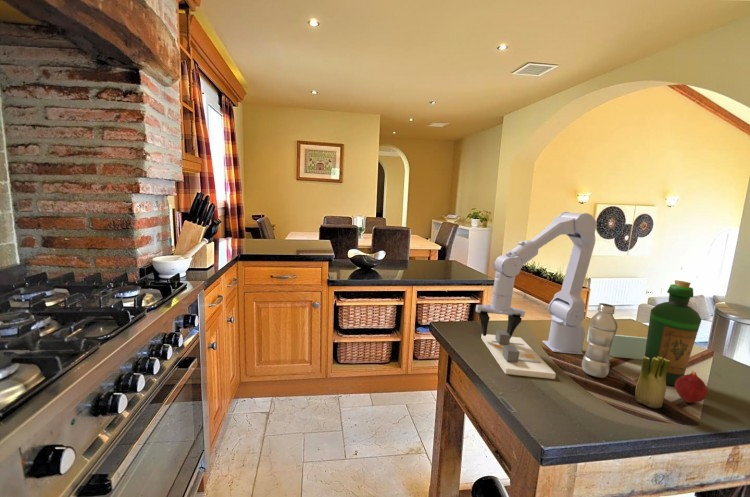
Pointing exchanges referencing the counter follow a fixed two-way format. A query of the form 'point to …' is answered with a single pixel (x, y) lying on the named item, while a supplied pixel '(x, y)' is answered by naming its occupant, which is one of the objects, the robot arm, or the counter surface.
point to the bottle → (673, 330)
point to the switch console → (527, 359)
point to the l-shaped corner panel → (627, 346)
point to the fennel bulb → (652, 382)
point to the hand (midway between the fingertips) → (496, 336)
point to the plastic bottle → (600, 341)
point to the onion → (691, 388)
